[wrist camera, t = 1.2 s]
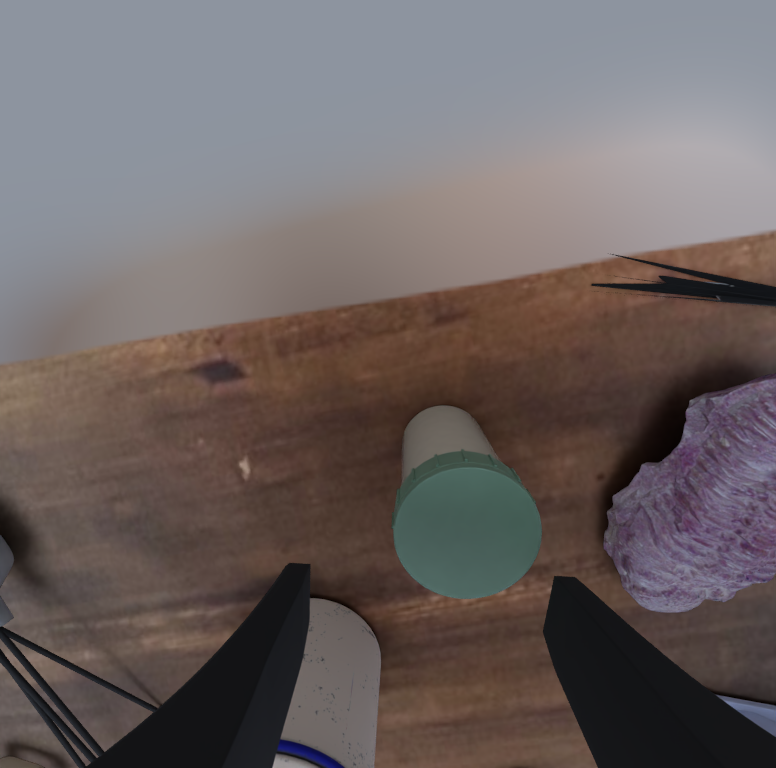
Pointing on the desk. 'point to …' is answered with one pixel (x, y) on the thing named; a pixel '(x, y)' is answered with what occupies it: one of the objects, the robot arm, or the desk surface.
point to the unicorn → (17, 763)
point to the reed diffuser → (3, 560)
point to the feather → (706, 287)
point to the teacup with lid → (333, 694)
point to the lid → (465, 525)
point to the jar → (441, 436)
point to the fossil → (703, 505)
